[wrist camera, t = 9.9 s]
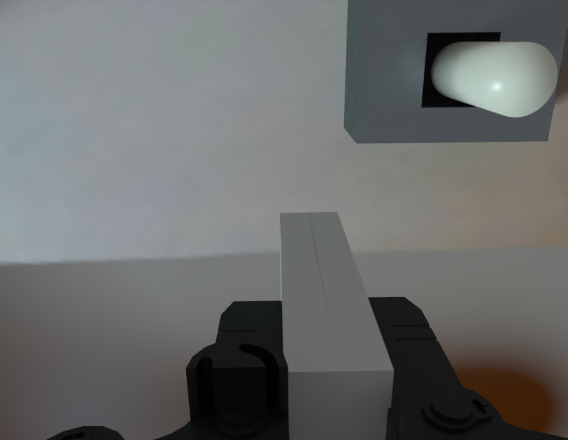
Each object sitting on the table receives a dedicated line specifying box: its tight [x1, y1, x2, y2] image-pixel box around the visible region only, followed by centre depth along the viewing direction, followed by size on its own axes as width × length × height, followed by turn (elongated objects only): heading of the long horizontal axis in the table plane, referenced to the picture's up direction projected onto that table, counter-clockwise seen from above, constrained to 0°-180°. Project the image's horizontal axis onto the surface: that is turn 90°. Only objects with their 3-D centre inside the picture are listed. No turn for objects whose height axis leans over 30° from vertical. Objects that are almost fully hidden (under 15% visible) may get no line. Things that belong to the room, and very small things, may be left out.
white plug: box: [431, 42, 558, 117], centre depth 30 cm, size 4×4×10 cm
